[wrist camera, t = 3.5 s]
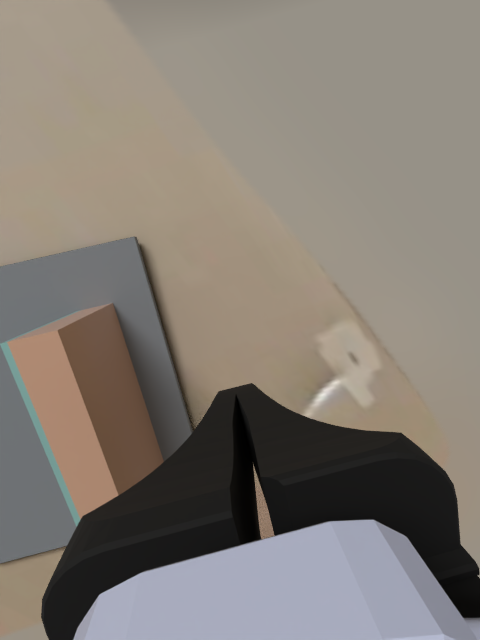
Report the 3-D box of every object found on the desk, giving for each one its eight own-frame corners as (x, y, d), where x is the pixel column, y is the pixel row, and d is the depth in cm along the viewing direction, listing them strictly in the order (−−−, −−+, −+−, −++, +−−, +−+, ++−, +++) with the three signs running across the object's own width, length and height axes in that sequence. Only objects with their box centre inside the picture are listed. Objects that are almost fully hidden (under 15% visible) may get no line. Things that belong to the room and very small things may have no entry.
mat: (-13, 560, 16) (-18, 568, 16) (-147, 300, 13) (-158, 301, 12) (212, 501, 16) (213, 506, 16) (136, 237, 13) (134, 236, 13)
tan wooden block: (136, 483, 15) (102, 589, 11) (76, 311, 13) (-1, 343, 9) (168, 475, 15) (148, 576, 11) (112, 303, 13) (57, 330, 9)
